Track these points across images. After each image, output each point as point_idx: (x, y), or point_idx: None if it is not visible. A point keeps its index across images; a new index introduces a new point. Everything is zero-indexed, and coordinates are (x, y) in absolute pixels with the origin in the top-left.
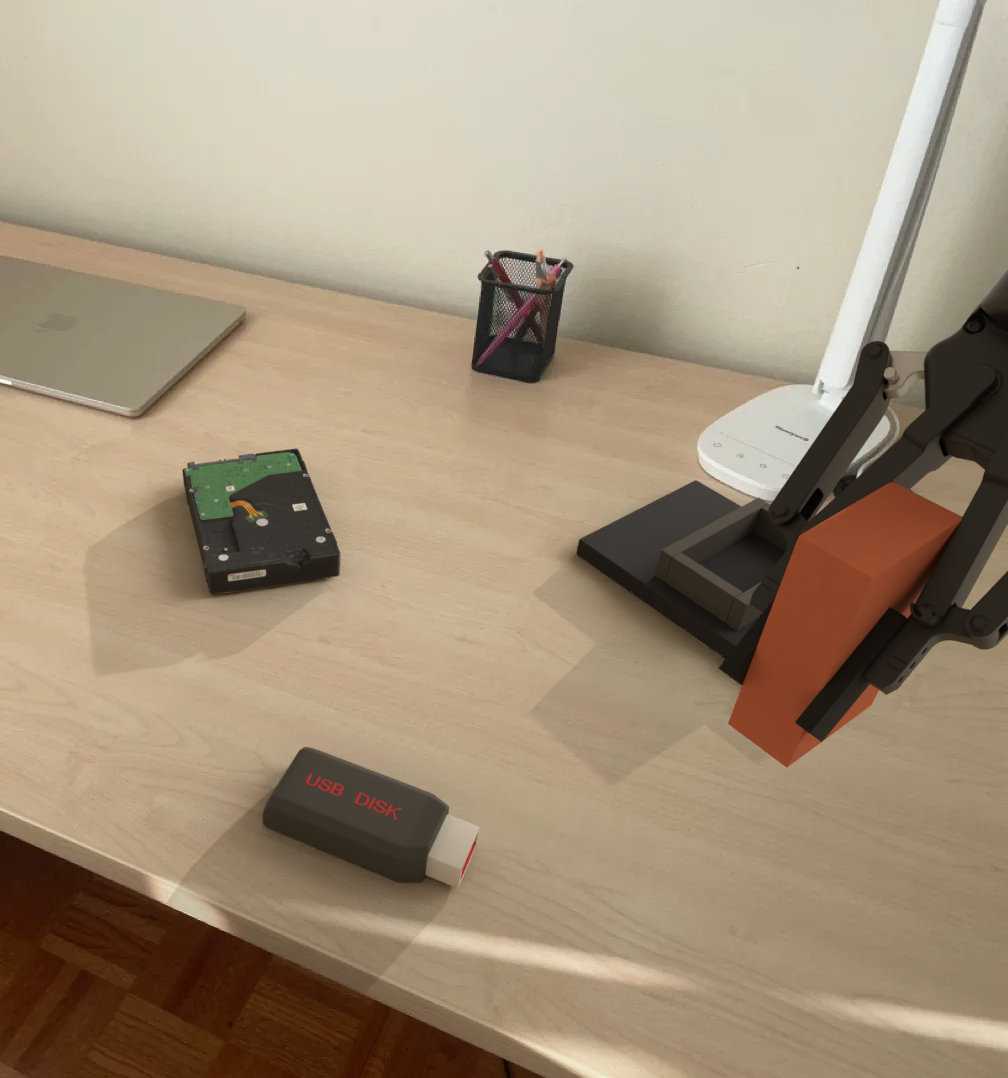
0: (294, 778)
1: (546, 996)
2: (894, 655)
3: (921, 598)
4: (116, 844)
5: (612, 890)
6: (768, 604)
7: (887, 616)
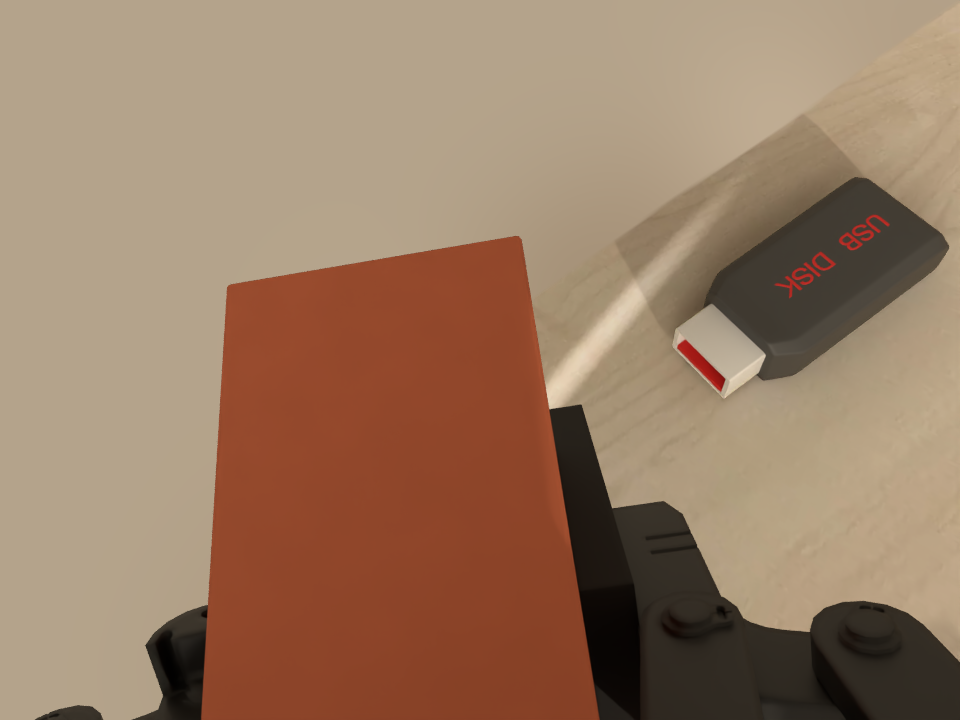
0: (887, 205)
1: None
2: None
3: None
4: (874, 73)
5: None
6: (624, 519)
7: None
